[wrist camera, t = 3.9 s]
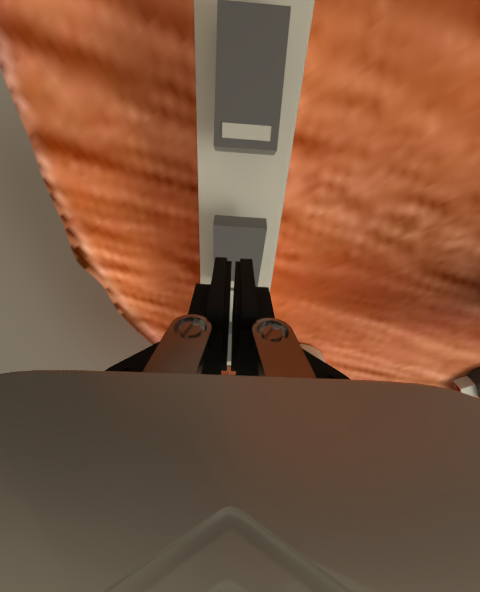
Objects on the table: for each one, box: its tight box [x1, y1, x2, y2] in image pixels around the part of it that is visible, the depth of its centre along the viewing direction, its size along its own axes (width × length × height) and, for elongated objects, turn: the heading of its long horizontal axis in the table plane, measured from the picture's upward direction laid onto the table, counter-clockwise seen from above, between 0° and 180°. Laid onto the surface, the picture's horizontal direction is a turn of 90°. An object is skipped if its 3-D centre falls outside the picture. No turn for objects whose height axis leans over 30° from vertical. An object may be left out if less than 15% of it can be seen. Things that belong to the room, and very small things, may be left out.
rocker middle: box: [213, 215, 267, 291], centre depth 22 cm, size 7×4×2 cm, turn 176°
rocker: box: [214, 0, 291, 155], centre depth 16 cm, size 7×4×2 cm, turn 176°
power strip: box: [194, 0, 315, 322], centre depth 23 cm, size 36×7×5 cm, turn 176°
